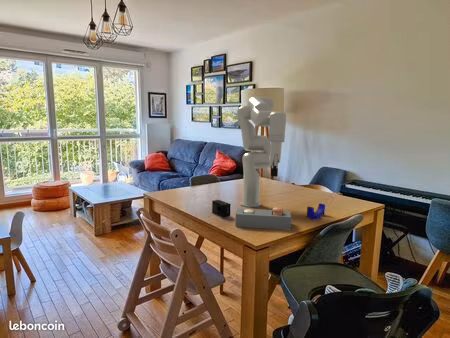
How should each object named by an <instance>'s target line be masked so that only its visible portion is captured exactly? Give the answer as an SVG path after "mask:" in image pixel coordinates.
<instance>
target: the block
mask: <svg viewBox="0 0 450 338" xmlns="http://www.w3.org/2000/svg"><path fill="white" fill-rule="evenodd" d="M246 209H247V208H241V207H237V208H236V212H235V224H234V227H243V228H257V229H258V228H259V229H273V230H274V229H275V230H290V231H291V228H292V215H291V212H290V210H283V212H282V215H273V209H258V208H249V209H250V210H254V214H250V213H244V210H246Z"/></svg>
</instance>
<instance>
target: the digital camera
mask: <svg viewBox="0 0 450 338" xmlns="http://www.w3.org/2000/svg"><path fill="white" fill-rule="evenodd" d="M211 206H212V207H211V213H212V214H214V215H215V216H216V215H217V216H218V217H220V218H224V219H225V218H228V217H231V203H229V202H226V201H223V200H220V199H216V200H215V199H214V200H212V203H211Z"/></svg>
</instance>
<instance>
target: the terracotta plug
mask: <svg viewBox="0 0 450 338" xmlns="http://www.w3.org/2000/svg"><path fill="white" fill-rule="evenodd" d="M272 210H273V215H282V212H283V211H284V208H282V207H280V206H279V207H278V206H275V207H272Z"/></svg>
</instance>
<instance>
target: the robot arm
mask: <svg viewBox="0 0 450 338" xmlns="http://www.w3.org/2000/svg"><path fill="white" fill-rule="evenodd" d="M274 104H275V103H274V100H273V98H271V97H269V96H259V95H258V96H257V95H256V96H251V97H250V98H248V100H247V105H242V106H240V107H238V108H237V111H236V118H237V119H236V120H237V124H238V126H239V128H240V132H241V138H242V146H243V147H242V148H243V149H244V150H245V151H247V152H245V153H244V154H242V158H241V159H242V160H241V162H242V167H243V177H242V179H243V184H242V200H241V201H240V202H239V205H240V206H243V207H246V208H257V207H261V205H262V203H261V201H259V200H260V174H259V172H258V171H257V169H268V168H270V176H271V177H275V178H276V177H278V173H279V172H278V171H279V168H278V167H279V164H280V162H281V156H282V146H283V145H282V143H285V137H286V123H287V122H286V121H287V113H286V112H282V111H275V110H274ZM251 121H252V122H251ZM254 125H255V126H257V127H268V137H267V136H266V135H261V134H260V135H258V134H257V133H256V132H257V131H256V128H255V126H254Z"/></svg>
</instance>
